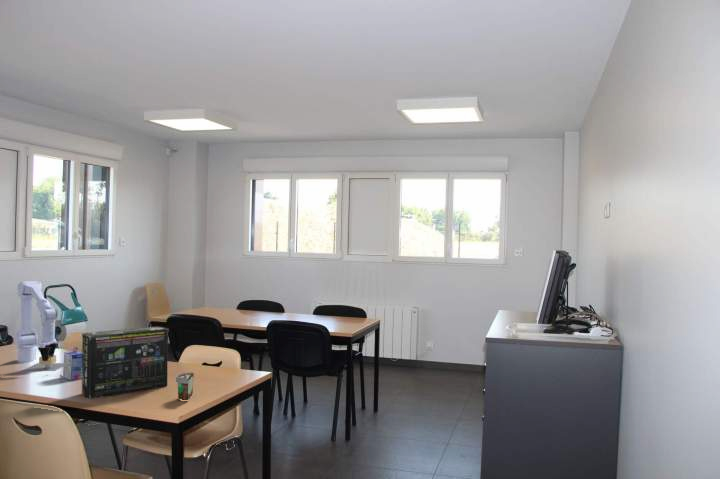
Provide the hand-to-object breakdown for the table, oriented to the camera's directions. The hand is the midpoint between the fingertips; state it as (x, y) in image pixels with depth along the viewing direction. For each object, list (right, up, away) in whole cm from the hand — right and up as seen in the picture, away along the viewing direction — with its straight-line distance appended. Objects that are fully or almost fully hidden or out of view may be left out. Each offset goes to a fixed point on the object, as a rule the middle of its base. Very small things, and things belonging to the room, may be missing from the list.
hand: (47, 359), depth 290 cm
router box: (+53, -7, -33) cm, 63 cm away
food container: (+82, -8, -45) cm, 94 cm away
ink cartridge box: (+20, -6, -14) cm, 25 cm away
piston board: (-2, -6, +3) cm, 7 cm away
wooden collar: (0, -2, 0) cm, 2 cm away
